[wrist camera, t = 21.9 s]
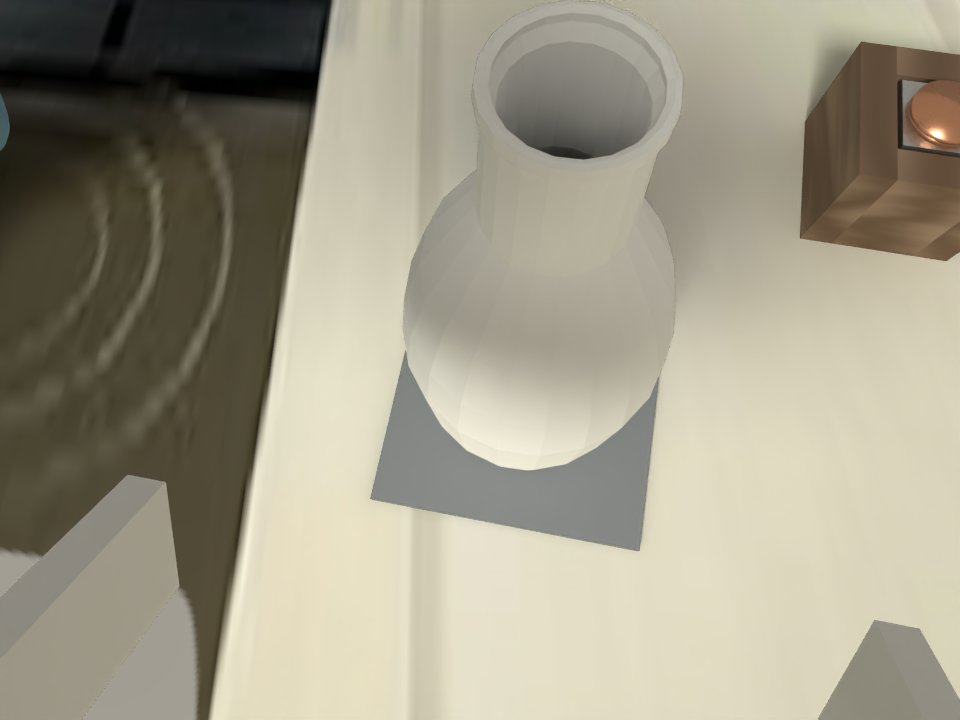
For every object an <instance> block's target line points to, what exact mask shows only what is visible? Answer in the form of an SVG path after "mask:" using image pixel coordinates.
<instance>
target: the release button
mask: <svg viewBox="0 0 960 720" xmlns="http://www.w3.org/2000/svg"><path fill="white" fill-rule="evenodd" d="M897 125H898V149H903V150H910V151H917V152H924V153H931V154H938V155H945V156H952V157H959V158H960V83H959V82H955V81H950V80H938V81H933V82H930V83H922V82H915V81H908V80H902V81H901V82H900V83H899V84H898V86H897Z"/></svg>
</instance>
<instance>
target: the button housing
mask: <svg viewBox="0 0 960 720" xmlns="http://www.w3.org/2000/svg"><path fill="white" fill-rule="evenodd" d="M902 80H908V81H915V82H922V83H930V82H933V81H938V80H950V81H955V82H959V83H960V55H956V54H949V53H941V52H934V51H926V50H919V49H911V48H904V47H896V46H889V45H881V44H874V43H866V42H861V43H860V44H859V46H858V47H857V49H856V50H855V51H854V53H853V54H852V56H851V57H850V59H849V60H848V61H847V63H846V64H845V66H844V67H843V69H842V70H841V71H840V73H839V74H838V76H837V77H836V79H835V80H834V81H833V83H832V84H831V86H830V87H829V89H828V90H827V91H826V93H825V94H824V96H823V97H822V99H821V100H820V101H819V103H818V104H817V106H816V107H815V109H814V110H813V111H812V113H811V114H810V116H809V117H808V119H807V120H806V121H805V140H804V163H803V186H802V208H801V231H800V238H802V239H809V240H815V241H822V242H828V243H834V244H841V245H847V246H854V247H860V248H866V249H873V250H879V251H886V252H892V253H898V254H905V255H911V256H918V257H924V258H930V259H937V260H943V261H947V260H948V259H950V258H951V257H953V256H954V255H956V254H957V253H959V252H960V158H959V157H952V156H945V155H938V154H931V153H924V152H917V151H910V150H903V149H898V125H897V86H898V84H899V83H900V82H901V81H902Z"/></svg>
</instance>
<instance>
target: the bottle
mask: <svg viewBox="0 0 960 720" xmlns="http://www.w3.org/2000/svg"><path fill="white" fill-rule="evenodd" d="M682 92H683V77H682V74H681V71H680V68H679V65H678V62H677V59H676V56H675V53H674V52H673V50H672V49H671V48H670V47H669V45H668V44H667V43H666V42H665V40H664V39H663V38H662V36H661V35H660V34H659V33H658V31H657V30H655V29H654V28H653V27H651V26H650V25H648V24H647V23H645V22H644V21H643V20H641V19H640V18H638V17H637V16H635V15H634V14H633V13H630V12H627V11H624V10H622V9H619V8H616V7H613V6H610V5H608V4H605V3H600V2H590V1H579V0H567V1H560V2H553V3H547V4H541V5H538V6H536V7H534V8H531V9H529V10H527V11H524V12H522V13H520V14H517V15H515V16H513V17H512V18H511V19H509V20H508V21H507V22H506V23H505V24H504V25H502V26H501V27H500V28H499V29H498V30H496V31H495V32H494V33H493V34H492V35H491V36H490V38H489V40H488V41H487V43H486V44H485V46H484V48H483V49H482V51H481V53H480V54H479V56H478V58H477V63H476V68H475V74H474V80H473V86H472V93H471V98H472V102H473V107H474V112H475V117H476V122H477V124H478V125H479V140H478V158H477V170H476V171H474V172H473V173H471V174H470V175H469V176H468V177H467V178H466V179H464V180H463V181H462V182H461V183H460V184H459V185H458V186H457V187H455V188H454V189H453V190H452V191H451V192H450V193H449V194H448V195H447V196H445V197H444V198H443V200H442V202H441V204H440V205H439V207H438V209H437V210H436V212H435V214H434V216H433V217H432V219H431V221H430V223H429V224H428V226H427V228H426V230H425V232H424V234H423V236H422V239H421V241H420V243H419V245H418V248H417V250H416V252H415V254H414V257H413V259H412V261H411V266H410V271H409V277H408V282H407V287H406V292H405V297H404V311H403V333H404V340H405V346H406V353H407V360H408V366H409V368H410V370H411V372H412V374H413V376H414V377H415V379H416V381H417V383H418V385H419V387H420V389H421V391H422V393H423V395H424V397H425V399H426V401H427V402H428V404H429V406H430V407H431V409H432V411H433V412H434V414H435V416H436V417H437V419H438V421H439V423H440V424H441V426H442V427H443V428H444V429H445V430H446V431H447V432H448V433H449V434H450V435H451V436H452V437H453V438H454V439H455V440H456V441H457V442H458V443H459V444H460V445H461V446H462V447H463V448H464V449H465V450H467V451H469V452H471V453H473V454H475V455H477V456H479V457H481V458H483V459H485V460H487V461H489V462H491V463H493V464H495V465H498V466H500V467H506V468H513V469H520V470H536V469H542V468H548V467H553V466H559V465H564V464H567V463H569V462H571V461H573V460H575V459H577V458H578V457H580V456H582V455H584V454H586V453H588V452H590V451H591V450H593V449H595V448H597V447H598V446H599V445H600V444H602V443H603V442H604V441H606V440H607V439H608V438H609V437H611V436H612V435H613V434H615V433H616V432H617V431H618V430H620V429H621V428H622V427H623V426H624V425H625V424H626V423H627V422H628V421H629V419H630V418H631V417H632V416H633V415H634V414H635V413H636V412H637V411H638V410H639V409H640V407H641V406H642V405H643V404H644V403H645V402H646V401H647V400H648V399H649V398H650V396H651V393H652V391H653V388H654V386H655V384H656V381H657V379H658V377H659V374H660V372H661V370H662V367H663V365H664V363H665V360H666V357H667V353H668V350H669V347H670V344H671V340H672V337H673V334H674V320H675V302H676V287H675V275H674V262H673V256H672V253H671V249H670V246H669V242H668V239H667V236H666V232H665V229H664V225H663V223H662V222H661V220H660V219H659V217H658V216H657V214H656V213H655V212H654V210H653V209H652V207H651V206H650V204H649V203H648V202H647V200H646V199H645V197H644V196H645V193H646V190H647V186H648V183H649V180H650V177H651V173H652V170H653V167H654V164H655V160H656V157H657V154H658V152H659V151H660V150H661V149H662V148H663V147H664V146H665V145H666V144H667V142H668V140H669V138H670V136H671V134H672V132H673V130H674V128H675V126H676V123H677V121H678V119H679V116H680V112H681V107H682Z"/></svg>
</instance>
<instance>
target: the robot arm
mask: <svg viewBox="0 0 960 720" xmlns="http://www.w3.org/2000/svg"><path fill="white" fill-rule="evenodd" d="M9 131H10V125H9V117H8V113H7V110H6V107H5V104H4V101H3V98H2V96H1V94H0V151H1V150H2V149H3V147H4V146H5V144H6V141H7V138H8V135H9ZM178 588H179V580H178V572H177V565H176V557H175V549H174V542H173V534H172V526H171V519H170V511H169V503H168V496H167V488H166V482H162V481H157V480H152V479H147V478H141V477H136V476H131V475H127V476H126V477H125V478H124V479H123V480H122V481H121V482H120V483H119V484H118V485H117V486H116V487H115V488H114V489H113V490H111V491H110V492H109V493H108V494H107V495H106V496H105V497H104V498H103V499H102V500H101V501H100V502H99V503H98V504H97V505H96V506H95V507H94V508H93V509H92V510H91V511H90V512H89V513H88V514H87V515H86V516H85V517H83V518H82V519H81V520H80V521H79V522H78V523H77V524H76V525H75V526H74V527H73V528H72V529H71V530H70V531H69V532H68V533H67V534H66V535H65V536H64V537H63V538H62V539H61V540H60V541H59V542H58V543H57V544H56V545H54V546H53V547H52V548H51V549H50V550H49V551H48V552H47V553H46V554H45V555H44V556H43V557H42V558H41V559H40V560H39V561H38V562H37V563H36V564H35V565H34V566H33V567H32V568H31V569H30V570H29V571H28V572H27V573H25V575H23V576H22V577H21V578H20V579H19V580H18V581H17V582H16V583H15V584H14V585H13V586H12V587H11V588H10V589H9V590H8V591H7V592H6V593H5V594H4V595H3V596H2V597H1V598H0V720H82V719H83V717H84V716H85V715H86V713H87V712H88V711H89V709H90V708H91V706H92V705H93V704H94V702H95V701H96V700H97V698H98V697H99V695H100V694H101V693H102V691H103V690H104V689H105V687H106V686H107V685H108V683H109V682H110V680H111V679H112V678H113V676H114V675H115V674H116V672H117V671H118V670H119V668H120V667H121V665H122V664H123V663H124V661H125V660H126V659H127V657H128V656H129V654H130V653H131V652H132V650H133V649H134V648H135V646H136V645H137V644H138V642H139V641H140V639H141V638H142V637H143V635H144V634H145V633H146V631H147V630H148V629H149V627H150V626H151V625H152V623H153V622H154V620H155V619H156V618H157V616H158V615H159V614H160V612H161V611H162V610H163V608H164V607H165V605H166V604H167V603H168V601H169V600H170V599H171V597H172V596H173V595H174V593H175V592H176V590H177V589H178ZM818 719H819V720H960V699H959V698H958V696H957V694H956V692H955V691H954V689H953V687H952V685H951V684H950V682H949V680H948V678H947V676H946V675H945V673H944V671H943V669H942V668H941V666H940V664H939V662H938V660H937V659H936V657H935V655H934V653H933V652H932V650H931V648H930V646H929V645H928V643H927V641H926V639H925V637H924V636H923V634H922V632H921V630H920V629H918V628H913V627H908V626H903V625H898V624H892V623H887V622H882V621H877V620H874V622H873V624H872V625H871V627H870V629H869V631H868V632H867V634H866V636H865V638H864V639H863V641H862V643H861V645H860V646H859V648H858V650H857V652H856V653H855V655H854V657H853V659H852V660H851V662H850V664H849V666H848V667H847V669H846V671H845V673H844V674H843V676H842V678H841V679H840V681H839V683H838V685H837V686H836V688H835V690H834V692H833V693H832V695H831V697H830V699H829V700H828V702H827V704H826V706H825V707H824V709H823V711H822V713H821V714H820V716H819V718H818Z"/></svg>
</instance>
